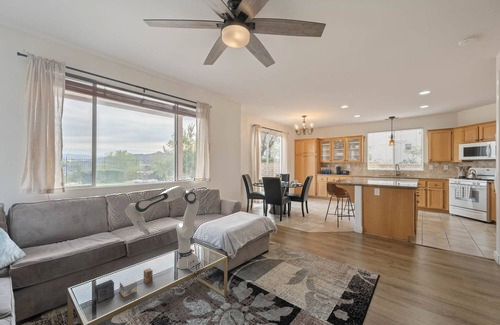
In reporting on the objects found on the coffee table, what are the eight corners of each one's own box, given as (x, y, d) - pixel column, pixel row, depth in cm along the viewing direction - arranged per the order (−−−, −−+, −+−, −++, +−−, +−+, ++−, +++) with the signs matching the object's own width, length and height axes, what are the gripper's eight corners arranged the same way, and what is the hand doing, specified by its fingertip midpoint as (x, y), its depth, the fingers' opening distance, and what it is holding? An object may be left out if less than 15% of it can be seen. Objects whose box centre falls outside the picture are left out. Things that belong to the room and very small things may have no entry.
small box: (111, 292, 156) (111, 278, 156) (114, 296, 152) (114, 282, 152) (94, 299, 148) (94, 285, 148) (97, 303, 144) (97, 289, 144)
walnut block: (149, 278, 175) (149, 268, 175) (152, 280, 172) (152, 270, 172) (143, 281, 172) (143, 270, 171) (146, 283, 168) (146, 272, 168)
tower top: (132, 281, 164) (132, 276, 164) (137, 286, 158) (137, 281, 158) (119, 287, 157) (119, 281, 157) (123, 292, 151) (123, 286, 151)
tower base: (132, 287, 164) (132, 282, 164) (136, 291, 158) (136, 286, 158) (119, 292, 157) (119, 287, 157) (123, 297, 151) (123, 292, 151)
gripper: (140, 218, 166) (150, 232, 165) (144, 218, 184) (153, 231, 184) (132, 223, 163) (142, 238, 163) (137, 223, 182) (146, 236, 182)
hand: (148, 234), depth 174 cm, fingers open, 8 cm apart
